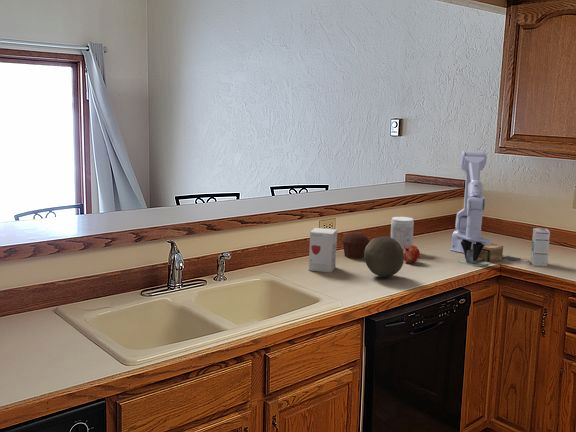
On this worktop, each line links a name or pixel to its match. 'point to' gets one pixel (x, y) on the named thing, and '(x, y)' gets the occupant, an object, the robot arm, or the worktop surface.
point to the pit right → (510, 258)
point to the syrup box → (540, 247)
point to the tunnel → (494, 252)
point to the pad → (475, 263)
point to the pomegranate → (411, 254)
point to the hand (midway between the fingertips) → (471, 259)
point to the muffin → (355, 245)
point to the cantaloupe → (384, 256)
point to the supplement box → (322, 249)
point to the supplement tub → (402, 230)
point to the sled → (482, 257)
